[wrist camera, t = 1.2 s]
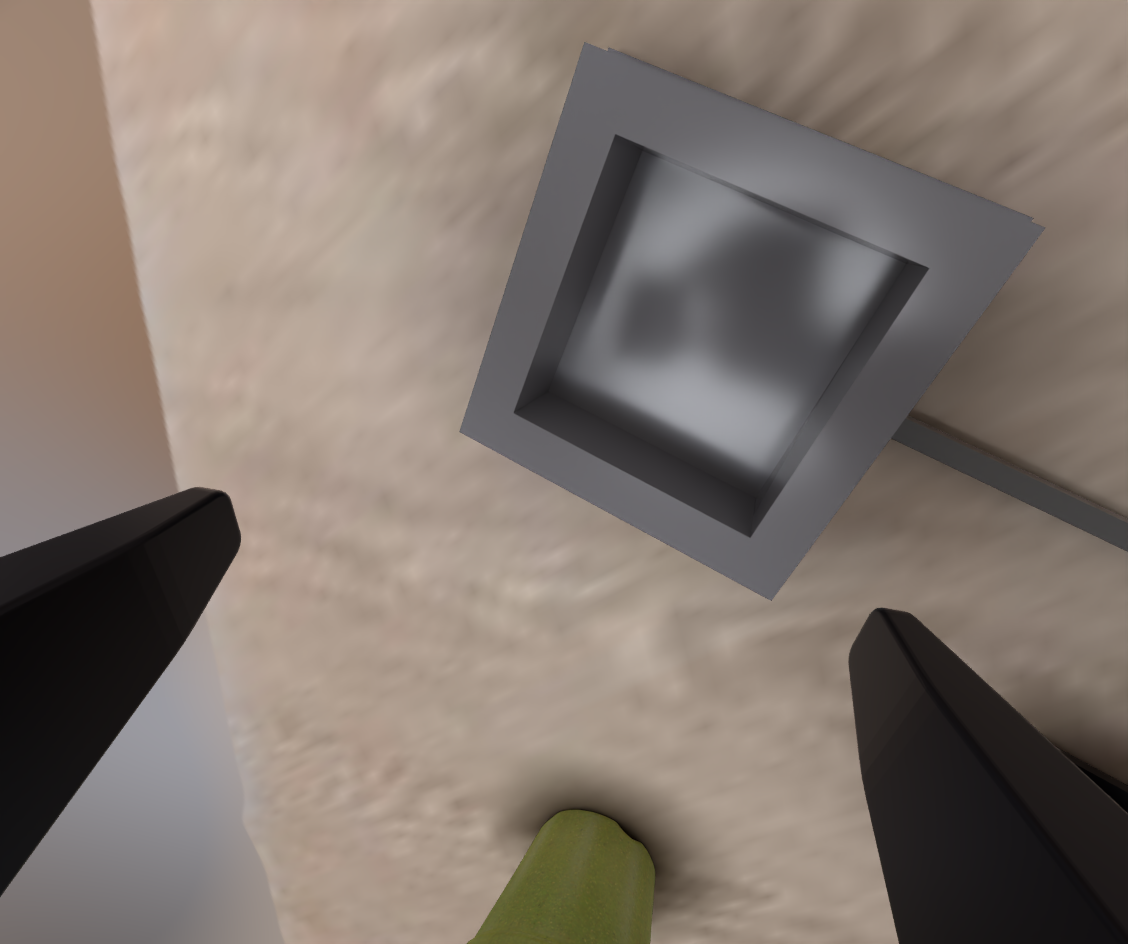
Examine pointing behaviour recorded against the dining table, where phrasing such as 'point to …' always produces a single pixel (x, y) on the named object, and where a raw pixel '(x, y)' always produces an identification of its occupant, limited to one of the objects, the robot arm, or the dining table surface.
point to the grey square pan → (736, 321)
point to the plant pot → (576, 887)
